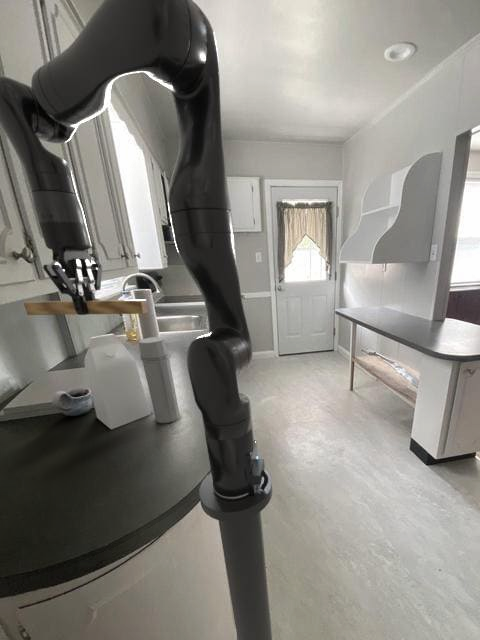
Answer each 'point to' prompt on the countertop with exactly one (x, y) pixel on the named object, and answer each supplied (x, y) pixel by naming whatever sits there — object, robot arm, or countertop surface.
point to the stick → (92, 305)
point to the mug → (73, 401)
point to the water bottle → (159, 379)
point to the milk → (114, 382)
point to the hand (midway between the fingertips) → (88, 313)
